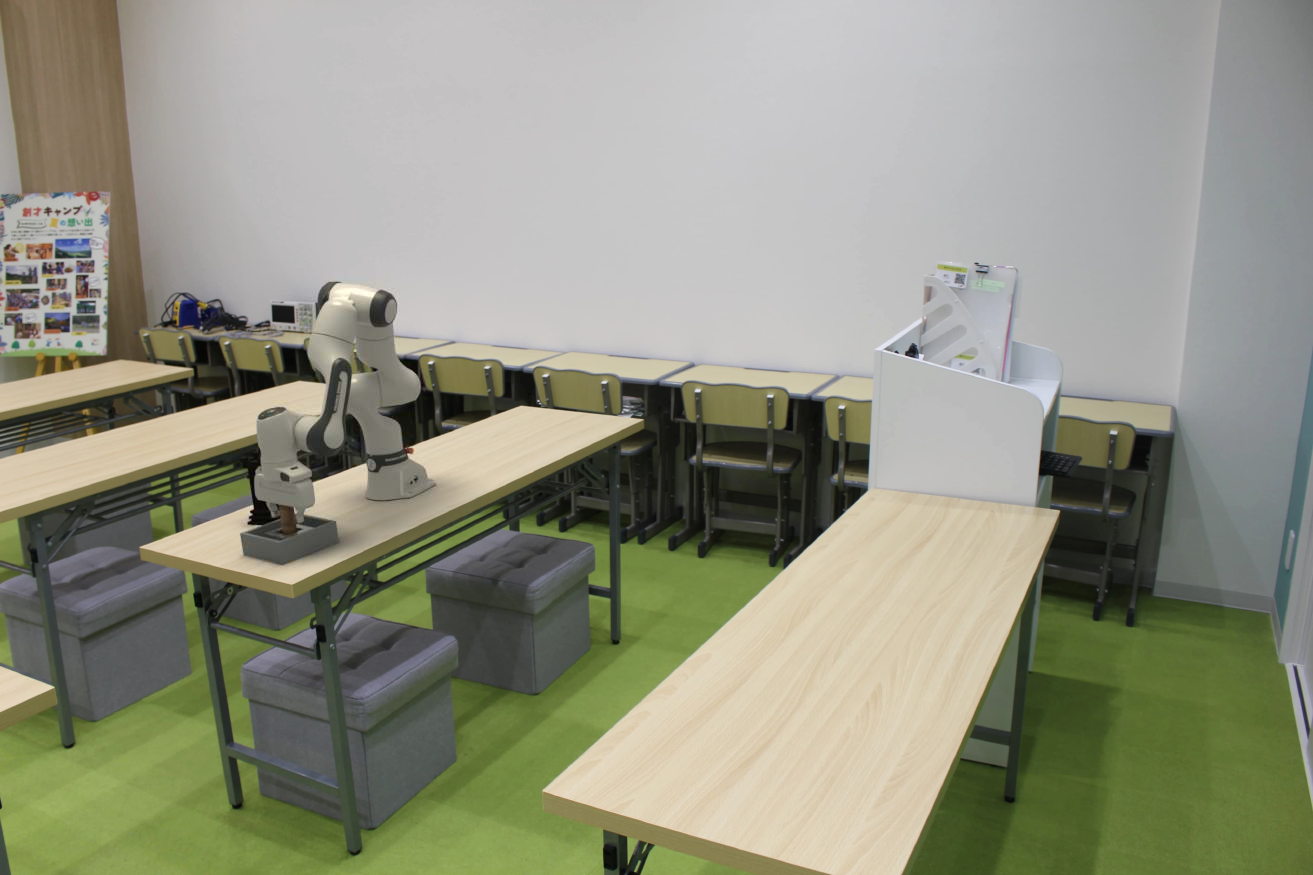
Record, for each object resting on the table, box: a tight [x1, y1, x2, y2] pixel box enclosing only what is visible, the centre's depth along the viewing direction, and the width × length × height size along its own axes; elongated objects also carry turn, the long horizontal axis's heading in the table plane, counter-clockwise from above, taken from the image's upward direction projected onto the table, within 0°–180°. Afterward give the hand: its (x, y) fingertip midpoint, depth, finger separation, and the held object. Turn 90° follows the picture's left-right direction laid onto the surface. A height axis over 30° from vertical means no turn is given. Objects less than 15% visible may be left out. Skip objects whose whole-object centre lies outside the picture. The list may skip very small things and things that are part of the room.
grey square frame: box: [264, 524, 313, 541], centre depth 250 cm, size 9×9×4 cm
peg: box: [279, 504, 297, 535], centre depth 249 cm, size 4×4×12 cm
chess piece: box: [238, 450, 281, 526], centre depth 272 cm, size 8×8×20 cm
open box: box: [239, 512, 340, 566], centre depth 250 cm, size 18×16×6 cm
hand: (287, 519), depth 249 cm, fingers open, 8 cm apart
